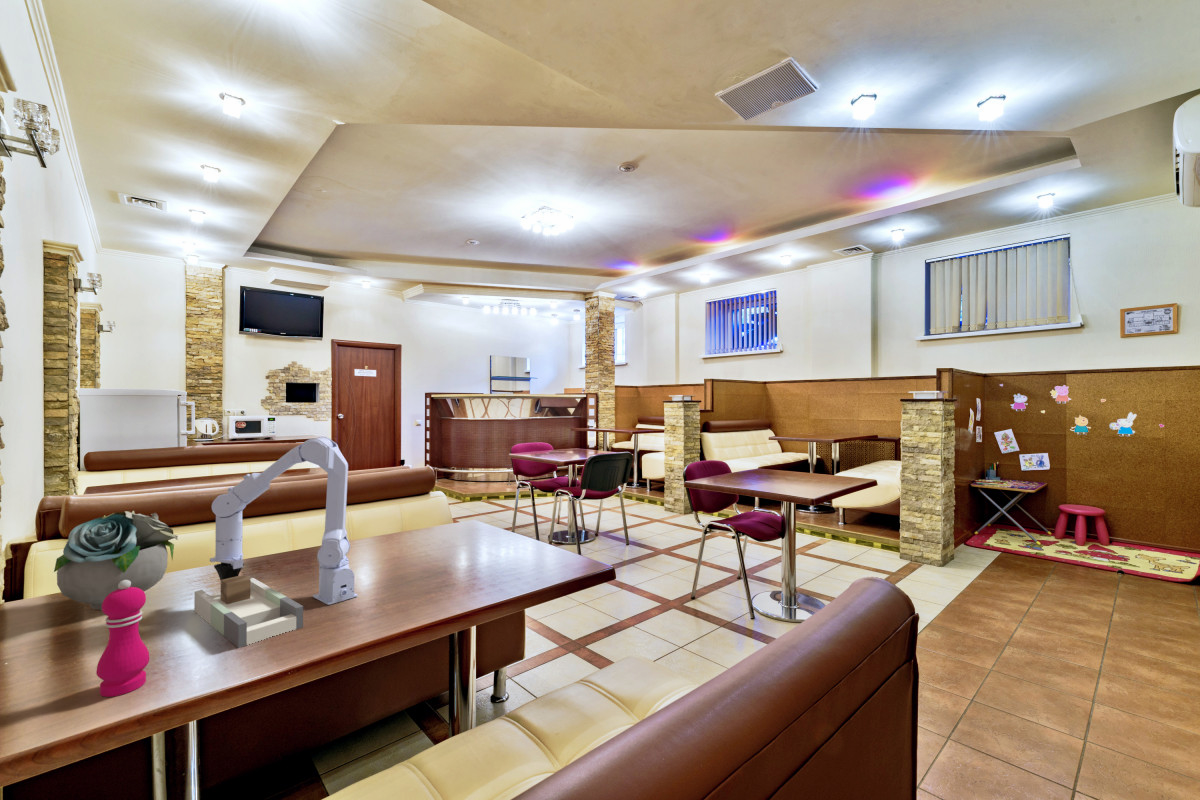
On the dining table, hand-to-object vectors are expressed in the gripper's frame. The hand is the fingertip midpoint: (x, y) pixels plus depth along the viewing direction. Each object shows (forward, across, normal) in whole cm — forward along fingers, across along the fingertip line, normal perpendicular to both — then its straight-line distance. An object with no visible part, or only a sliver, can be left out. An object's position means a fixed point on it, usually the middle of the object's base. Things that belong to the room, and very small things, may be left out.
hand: (228, 590), depth 132 cm
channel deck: (+4, +13, 0) cm, 14 cm away
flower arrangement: (+4, -25, -18) cm, 31 cm away
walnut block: (+1, +5, 0) cm, 5 cm away
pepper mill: (+4, +30, -25) cm, 40 cm away
